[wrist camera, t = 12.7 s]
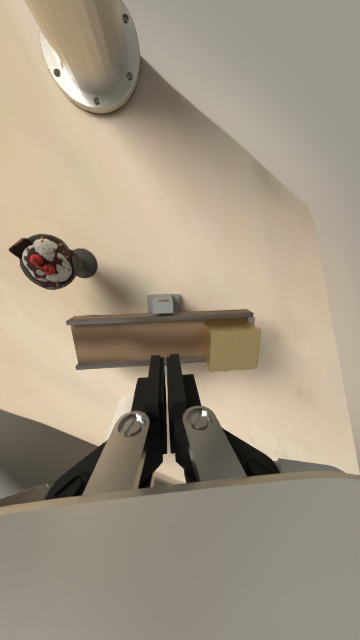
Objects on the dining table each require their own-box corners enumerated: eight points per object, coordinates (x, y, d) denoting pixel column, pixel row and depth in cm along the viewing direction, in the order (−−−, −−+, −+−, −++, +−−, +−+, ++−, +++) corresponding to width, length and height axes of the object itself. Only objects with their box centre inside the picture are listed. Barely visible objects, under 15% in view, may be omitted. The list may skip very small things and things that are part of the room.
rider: (203, 321, 29) (210, 332, 25) (245, 319, 30) (261, 330, 25) (202, 355, 31) (209, 371, 26) (242, 352, 32) (256, 368, 27)
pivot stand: (147, 294, 35) (142, 302, 27) (178, 293, 35) (183, 301, 27) (151, 352, 39) (148, 376, 31) (180, 351, 39) (184, 374, 31)
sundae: (108, 276, 34) (65, 284, 19) (73, 286, 34) (5, 303, 19) (93, 238, 32) (33, 217, 17) (56, 249, 32) (-34, 237, 17)
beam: (81, 311, 32) (64, 322, 26) (239, 305, 34) (255, 313, 28) (89, 353, 34) (74, 371, 28) (236, 345, 36) (250, 360, 31)
